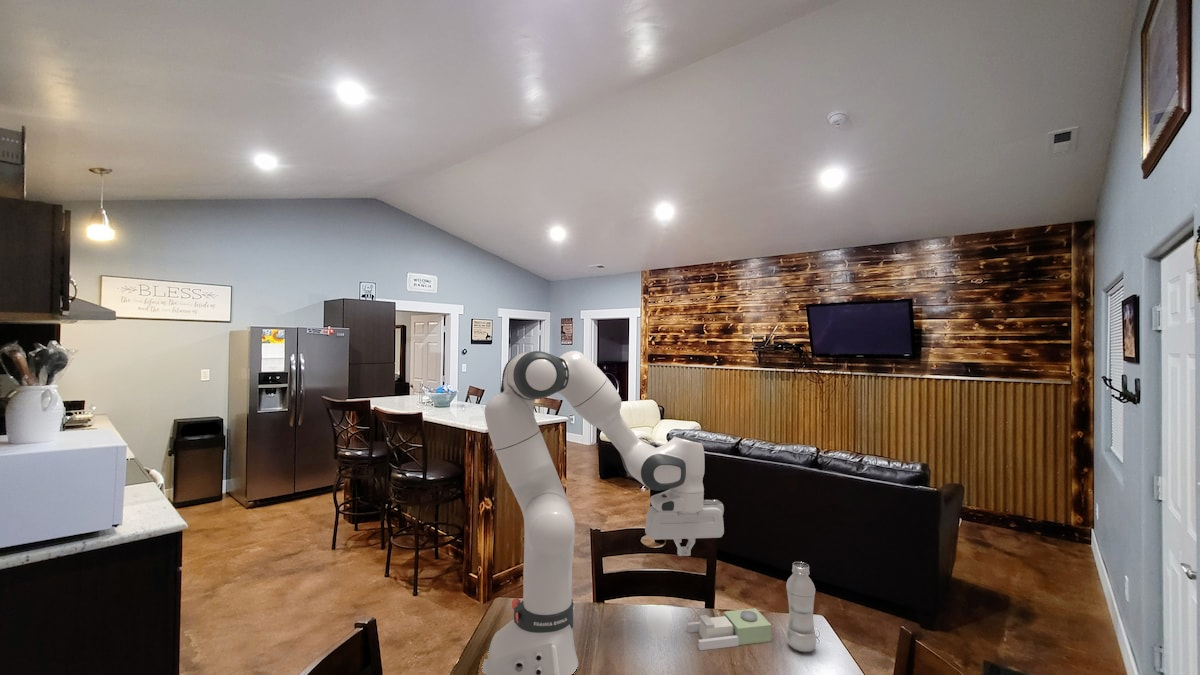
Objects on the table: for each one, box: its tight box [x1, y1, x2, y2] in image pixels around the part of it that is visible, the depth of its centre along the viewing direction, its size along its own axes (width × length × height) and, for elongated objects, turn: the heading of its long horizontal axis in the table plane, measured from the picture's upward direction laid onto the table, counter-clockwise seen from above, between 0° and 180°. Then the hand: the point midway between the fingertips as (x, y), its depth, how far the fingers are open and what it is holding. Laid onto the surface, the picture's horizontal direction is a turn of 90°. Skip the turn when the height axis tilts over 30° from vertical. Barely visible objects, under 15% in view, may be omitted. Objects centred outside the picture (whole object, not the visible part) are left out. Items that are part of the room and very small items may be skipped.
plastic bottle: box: [785, 561, 817, 653], centre depth 120 cm, size 6×7×20 cm
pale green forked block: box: [686, 607, 773, 651], centre depth 125 cm, size 19×8×5 cm, turn 101°
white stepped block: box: [698, 614, 733, 639], centre depth 124 cm, size 7×4×5 cm, turn 101°
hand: (683, 555), depth 126 cm, fingers closed
